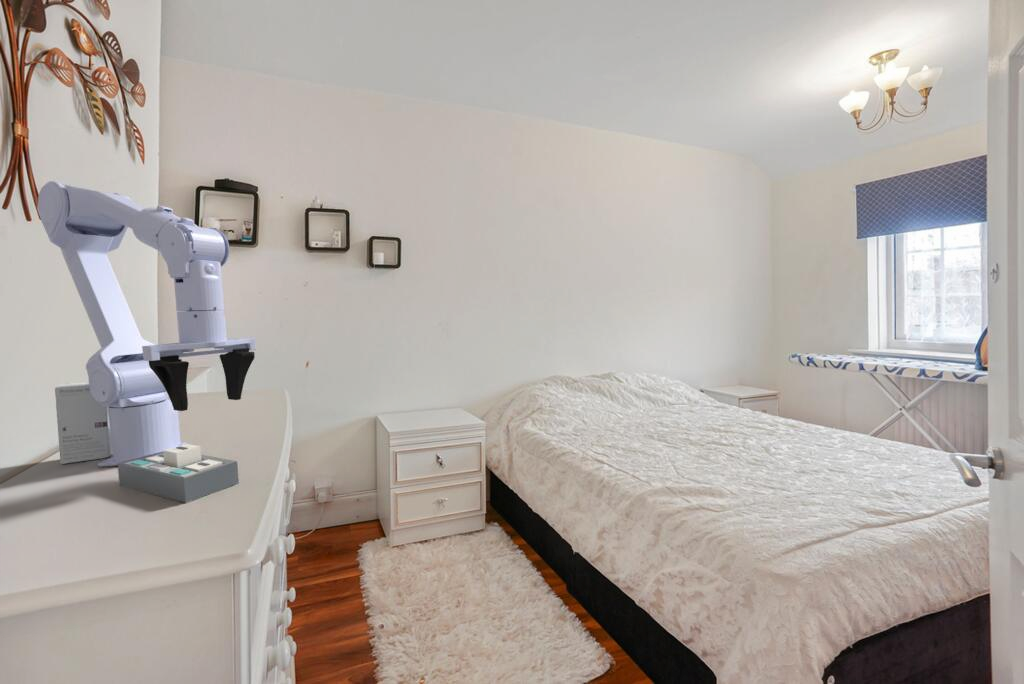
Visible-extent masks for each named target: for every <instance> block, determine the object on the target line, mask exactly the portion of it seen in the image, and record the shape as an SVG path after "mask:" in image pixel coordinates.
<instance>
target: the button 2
mask: <svg viewBox="0 0 1024 684" xmlns="http://www.w3.org/2000/svg"><path fill="white" fill-rule="evenodd" d="M222 464H223V462H219V461H214V460H209V459H208V460H205V461H202V462H198V463H195V464H192V465H188V466H185V470H189V471H194V472H200V471H203V470H206V469H209V468H213V467H216V466H219V465H222Z"/></svg>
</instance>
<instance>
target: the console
mask: <svg viewBox="0 0 1024 684" xmlns="http://www.w3.org/2000/svg"><path fill="white" fill-rule="evenodd" d="M160 454H163V451H162V452H158V453H154V454H151V455H147V456H143V457H139V458H136V459H132V460H128V461H124V462H121V463H117V464H118V465H117V471H118V472H117V473H118V474H117V475H118V483H119V486H122V487H125V488H129V489H133V490H135V491H140V492H142V493H143V492H144V493H148V494H151V495H153V496H154V495H155V496H157V497H163V498H166V499H170V500H173V499H174V500H173V501H177V500H178V501H177V502H180V501H182V502H181V503H184V502H185V504H187V503H189V501H190V502H192V501H191V500H193V501H195V500H197V498H198V499H200V497H201V498H202V497H203V498H204V497H205V496H208V495H211V494H213V493H217V492H219V491H223V490H225V489H228V488H230V487H233V486H235V484H236V485H238V484H240V481H239V468H238V460H231V459H226V458H221V457H217V456H211V455H206V454H205V455H204V454H201V457H202V460H200V461H197V462H194V463H190V464H187V465H184V466H181V467H177V468H176V467H171V466H166V465H164V461H163V462H160V463H152V462H148V461H146V460H145V458H149V457H153V456H156V455H160ZM208 459H209V460H214V461H219V462H223V464H222V465H219V466H216V467H213V468H209V469H206V470H203V471H200V472H194V471H189V470H185V466H188V465H192V464H195V463H198V462H202V461H205V460H208ZM232 485H233V486H232ZM194 499H195V500H194ZM186 502H187V503H186Z"/></svg>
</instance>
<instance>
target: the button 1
mask: <svg viewBox="0 0 1024 684" xmlns="http://www.w3.org/2000/svg"><path fill="white" fill-rule="evenodd" d="M145 460H146V461H148V462H152V463H160V462H163V461H164V454H160V455H156V456H153V457H149V458H145Z"/></svg>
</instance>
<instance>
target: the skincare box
mask: <svg viewBox="0 0 1024 684" xmlns="http://www.w3.org/2000/svg"><path fill="white" fill-rule="evenodd" d="M54 393H55V408H56V424H57V434H58V436H57V437H58V449H59V462H60V465H66V464H72V463H78V462H84V461H85V462H86V461H92V460H99V459H108V458H109V457H110V456H112V446H111V436H110V425H109V415H108V407H105V406H102V404H100V403H99V402H98V401H96V400H95V399H94V398H93V396H92V394H91V392H90V389H89V381H87V382H74V383H73V382H72V383H61V384H59V385H58V386H56V387H54ZM110 458H111V457H110Z"/></svg>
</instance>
